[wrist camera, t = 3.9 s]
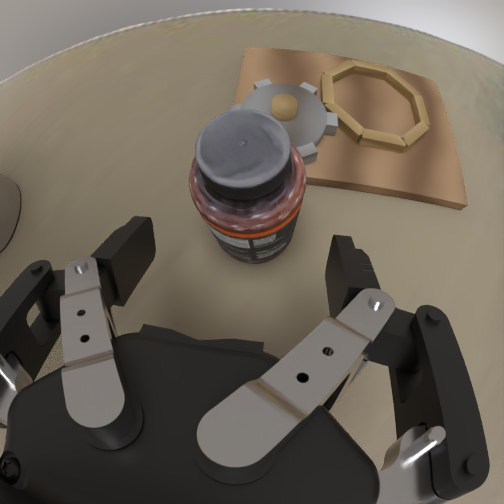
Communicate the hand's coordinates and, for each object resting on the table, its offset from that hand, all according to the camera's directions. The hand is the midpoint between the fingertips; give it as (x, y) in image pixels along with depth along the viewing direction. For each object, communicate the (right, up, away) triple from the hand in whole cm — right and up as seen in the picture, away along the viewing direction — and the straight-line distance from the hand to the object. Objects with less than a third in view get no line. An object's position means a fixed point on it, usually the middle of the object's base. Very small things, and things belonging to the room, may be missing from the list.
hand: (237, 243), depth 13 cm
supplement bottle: (+1, +1, +10) cm, 10 cm away
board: (+10, +12, +12) cm, 20 cm away
